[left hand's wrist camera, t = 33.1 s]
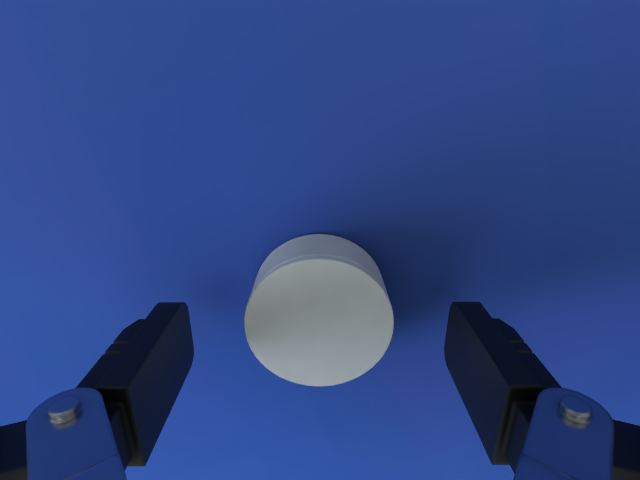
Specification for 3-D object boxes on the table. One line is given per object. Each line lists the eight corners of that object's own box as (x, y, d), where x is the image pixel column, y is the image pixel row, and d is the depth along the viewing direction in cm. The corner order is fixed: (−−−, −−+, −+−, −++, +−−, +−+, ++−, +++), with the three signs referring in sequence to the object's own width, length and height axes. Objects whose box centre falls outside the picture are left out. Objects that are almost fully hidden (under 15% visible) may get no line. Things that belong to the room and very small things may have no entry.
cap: (349, 210, 12) (355, 233, 11) (403, 317, 14) (417, 354, 12) (230, 267, 13) (215, 298, 11) (293, 363, 15) (289, 405, 13)
